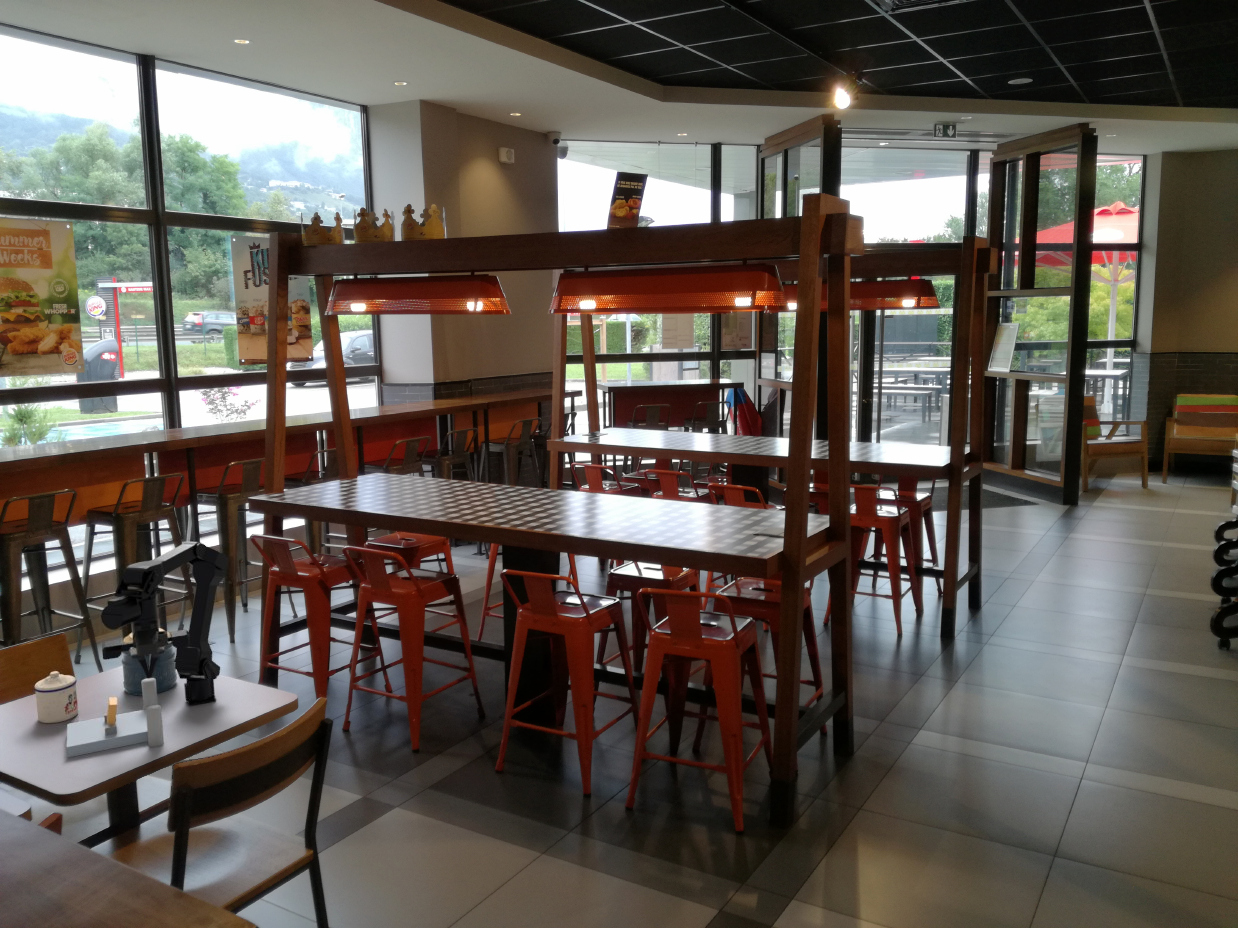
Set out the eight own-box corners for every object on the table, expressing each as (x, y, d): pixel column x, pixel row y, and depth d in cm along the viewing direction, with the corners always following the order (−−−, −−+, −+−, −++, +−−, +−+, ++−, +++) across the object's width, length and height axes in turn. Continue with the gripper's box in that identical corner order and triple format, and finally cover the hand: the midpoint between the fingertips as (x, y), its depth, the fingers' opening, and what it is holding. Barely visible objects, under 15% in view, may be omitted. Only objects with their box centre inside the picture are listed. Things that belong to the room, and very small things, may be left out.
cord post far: (157, 710, 233) (155, 676, 231) (158, 714, 230) (156, 681, 229) (143, 712, 231) (141, 679, 230) (144, 717, 229) (141, 683, 227)
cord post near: (163, 739, 217) (160, 703, 215) (164, 744, 214) (161, 708, 212) (148, 742, 215) (145, 706, 214) (149, 748, 212) (146, 711, 211)
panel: (151, 717, 229) (150, 701, 228) (155, 739, 217) (154, 722, 216) (68, 733, 220) (66, 716, 219) (67, 757, 208) (65, 739, 207)
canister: (188, 681, 252) (183, 620, 249) (148, 699, 240) (143, 635, 237) (153, 674, 256) (148, 614, 253) (112, 692, 244) (107, 629, 241)
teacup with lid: (74, 721, 226) (69, 676, 224) (32, 726, 224) (27, 681, 222) (86, 702, 238) (82, 659, 236) (46, 706, 235) (42, 663, 233)
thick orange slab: (114, 716, 220) (116, 697, 220) (114, 723, 216) (117, 704, 216) (106, 716, 219) (109, 697, 219) (107, 724, 215) (109, 704, 215)
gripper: (100, 632, 207) (106, 697, 209) (190, 619, 216) (195, 681, 218) (99, 618, 216) (105, 680, 219) (186, 606, 225) (190, 666, 228)
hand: (149, 677), depth 221 cm, fingers closed
